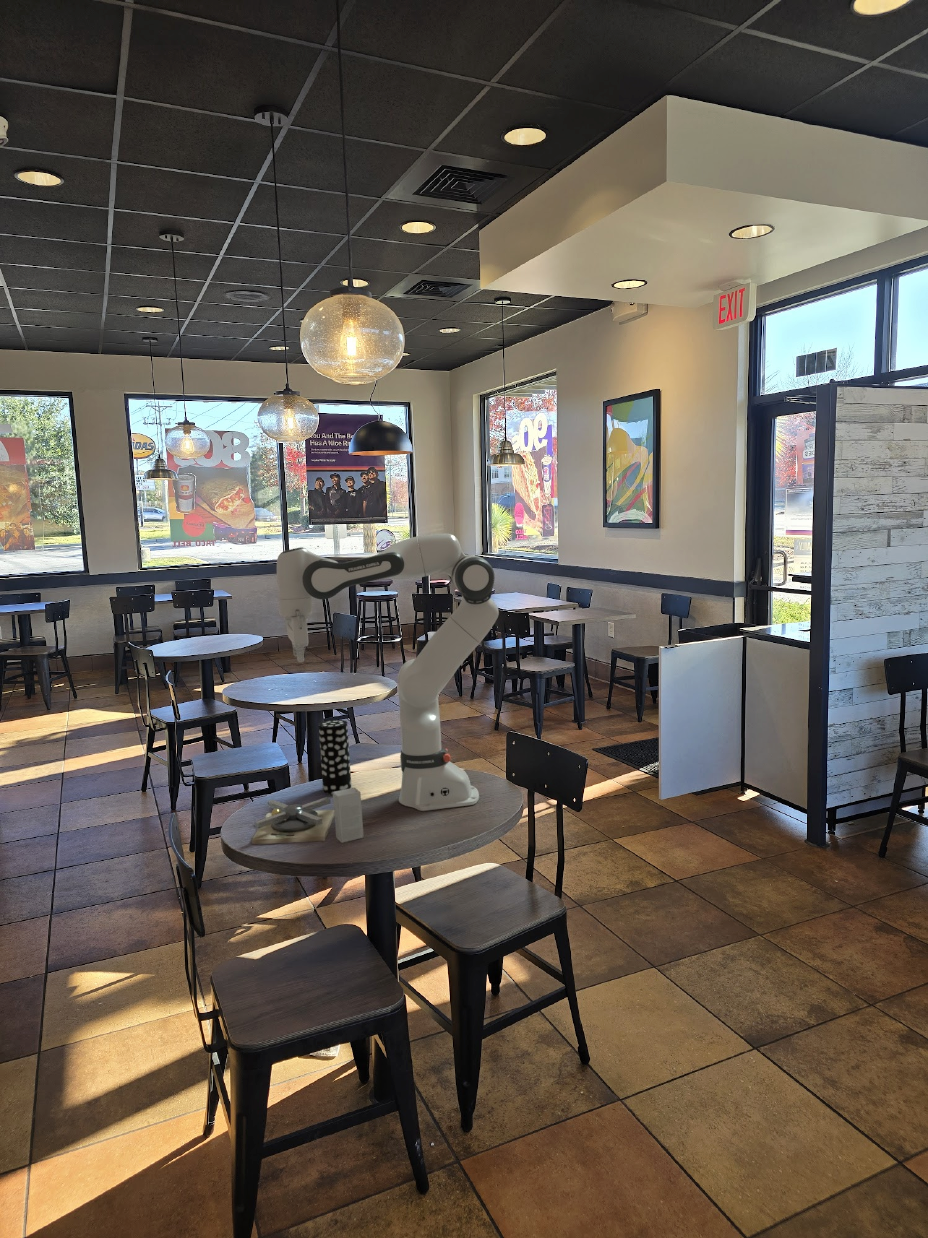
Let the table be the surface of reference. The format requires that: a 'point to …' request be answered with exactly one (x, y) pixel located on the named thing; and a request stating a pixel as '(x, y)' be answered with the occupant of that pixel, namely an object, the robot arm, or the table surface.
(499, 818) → the table surface
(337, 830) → the skincare box
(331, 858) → the table surface
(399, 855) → the table surface
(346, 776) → the spotted tube
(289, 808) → the capstan
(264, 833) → the beige base plate
